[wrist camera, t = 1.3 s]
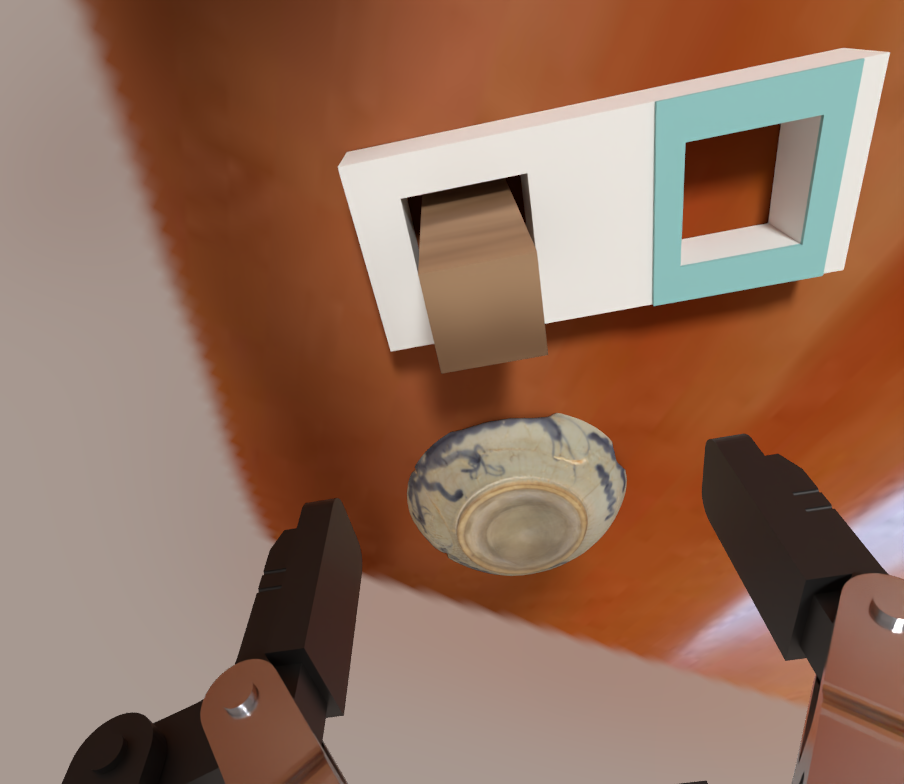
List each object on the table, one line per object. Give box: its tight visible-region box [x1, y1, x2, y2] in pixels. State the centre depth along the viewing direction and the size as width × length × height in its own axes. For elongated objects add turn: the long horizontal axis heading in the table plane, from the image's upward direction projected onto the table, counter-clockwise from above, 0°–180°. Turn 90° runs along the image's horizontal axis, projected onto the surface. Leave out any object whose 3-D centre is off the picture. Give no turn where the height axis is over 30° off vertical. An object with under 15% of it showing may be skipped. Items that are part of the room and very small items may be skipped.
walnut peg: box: [418, 178, 548, 374], centre depth 24 cm, size 4×4×10 cm
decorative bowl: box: [407, 413, 627, 576], centre depth 38 cm, size 15×4×15 cm
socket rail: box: [338, 48, 890, 351], centre depth 26 cm, size 9×22×3 cm, turn 101°
